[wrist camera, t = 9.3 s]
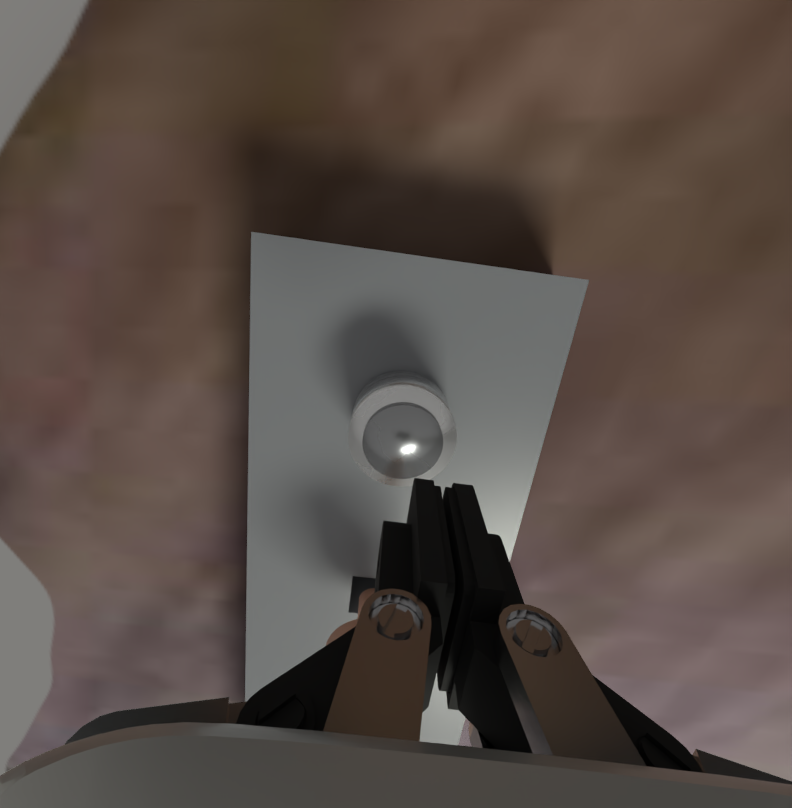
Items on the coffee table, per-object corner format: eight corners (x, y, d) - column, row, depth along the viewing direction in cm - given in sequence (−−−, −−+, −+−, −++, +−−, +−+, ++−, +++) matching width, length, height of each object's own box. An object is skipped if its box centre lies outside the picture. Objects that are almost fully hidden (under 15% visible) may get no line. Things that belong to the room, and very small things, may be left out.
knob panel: (553, 275, 21) (588, 280, 17) (436, 738, 33) (442, 800, 29) (277, 236, 20) (251, 231, 16) (260, 725, 32) (243, 787, 28)
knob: (447, 359, 21) (468, 397, 16) (433, 436, 23) (447, 496, 17) (362, 349, 21) (352, 383, 15) (354, 427, 22) (342, 485, 17)
